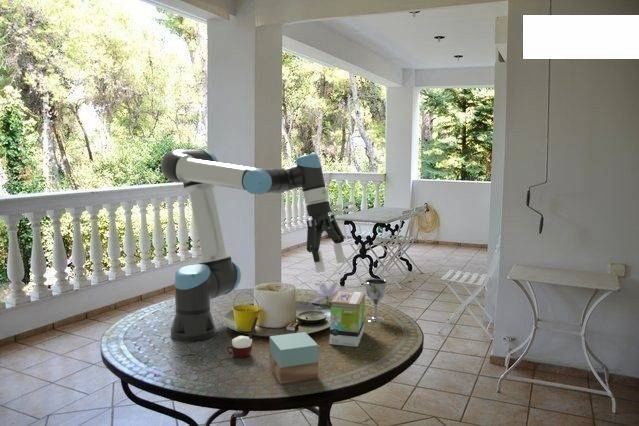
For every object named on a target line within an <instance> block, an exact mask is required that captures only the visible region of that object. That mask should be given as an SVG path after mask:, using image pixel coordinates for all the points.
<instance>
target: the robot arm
mask: <svg viewBox="0 0 639 426" xmlns="http://www.w3.org/2000/svg"><path fill="white" fill-rule="evenodd" d="M160 168H161V173H162V174H163V176H164V177H165V178H166V179H167V180H168V181H170V182H173V183H182V185H183V188H184V191H185V190H186V192H188V193H189V197H190V202H191V207H192V212H193V218H194V222H195V227H196V233H197V236H198V242H199V248H200V253H201V259H200V260H199V262H198V263H199V264H198V263H195V264H191V265H185V266H182V267H181V268H179V269H177V271H176V272H175V275H174V283H173V284H174V300H175V301H174V302H175V305H174V306H175V307H174V308H175V314H174V317H173V321H172V324H171V326H170V327H171V328H170V338H171V339H173V340H176V341H179V342H199V341H204V340H207V339H209V338H212V337H213V336H215V335H216V331H217V330H216V323H215V320H214V319H213V318H214V317H213V315H212V311H211V300H212V299H215V298H218V297H221V296H224V295H228V294H230V293H231V292H234V291H235V290H236V289H237V288H238V287H239V284H240V282H241V279H242V277H241V276H242V275H241V273H242V272H241V270H240V267H239V265H238V264H237V263H236V262H235V261H234V260H232V256H231V254H229V253H228V252H227V251H226V247H225V242H224V237H223V236H224V235H223V233H222V227H221V223H220V217H219V212H218V207H217V202H216V197H215V191H214V187H215V186H217V187H225V188H229V189H237V190H241V191H247V192H248V193H249V194H252V195H263V194H271V193H272V194H280V193H285V192H287V191H291V190H296V189H301V190H302V195H303V199H304V204H306V206H305V207H306V208H305V209H306V212H307V216H308V217H311V219H308V220H306V226H307V231H306V232H307V233H306V234H307V236H306V251H307V252H308V253H309V254H310V253H311V254H312V258H313V263H314V265H315V272H316V273H324V272H326V269H325V264H324V259H323V255H322V250H320V244H321V239H322V235H323V233H324V232H326V234H327V235H328V237H329V238H330V239H331V240H332V242H333V243H334V244H332V245H333V250H334V254H335V259H336V264H344V263H346V258H345V255H344V251H343V250H344V249H343V245H342V243H344V242H345V240H344V239H345V237H344V235H343V232H342V231H341V228H340V227H339V225H338V222H337V220H336V217H335V214H333V213H332V214H329V213H331V212H332V210H331V205H330V201H328V199H329V196H328V190H327V187H326V183H325V178H324V174H323V173H324V172H323V166H322V163H321V160H320V157H319V155H318V154H317V153H310V154H304V155H301V156H298V157H297V158H296V159H295V164H294V165H291V166H287V167H280V168H260V167H259V168H258V167H252V166H246V165H245V166H243V165H239V164H238V165H237V164H232V163H224V162H219V161H218V159H217V157H216V155H215V154H214V153H212V152H211V151H209V150H207V149H206V150H205V149H199V148H198V149H181V148H179V149H173V150H171V151H168V152H167V153H166V154H165V155H164V156H163V158H162V159H161V163H160Z"/></svg>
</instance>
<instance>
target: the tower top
mask: <svg viewBox="0 0 639 426" xmlns="http://www.w3.org/2000/svg"><path fill="white" fill-rule="evenodd" d="M270 354H271V355H272V357H273V358H274V360H275V361H276V362H277V364H278V365H279V366H280V368H282V367H289V366H295V365H302V364H309V363H316V362H318V363H319V344H318V343H317V341H315V340H314V339H313V337H311V336H310V335H309V334H308V333H307V332H306V331H302V332H296V333H295V332H293V333H285V334H277V335H270V336H269V355H270Z"/></svg>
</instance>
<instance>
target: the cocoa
mask: <svg viewBox="0 0 639 426" xmlns="http://www.w3.org/2000/svg"><path fill="white" fill-rule="evenodd" d="M257 322H258V315H256V316H255V318H254V320H253V323H252V326H251V328H250V332H249V335H248V336H245V335H238V336H236V337H234V338H233V339H231V346H227V348H226V350H227V352H228V353H229V354H230V355H232V356H235V357H237V358H239V359H241V358H242V359H243V358H246V357H248V356H249V355H250V354H251V352H252V348H253V339H252V336H253V333H254V329H255V328H256V324H257ZM229 349H231V350H232V352H231V351H230V350H229Z"/></svg>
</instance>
